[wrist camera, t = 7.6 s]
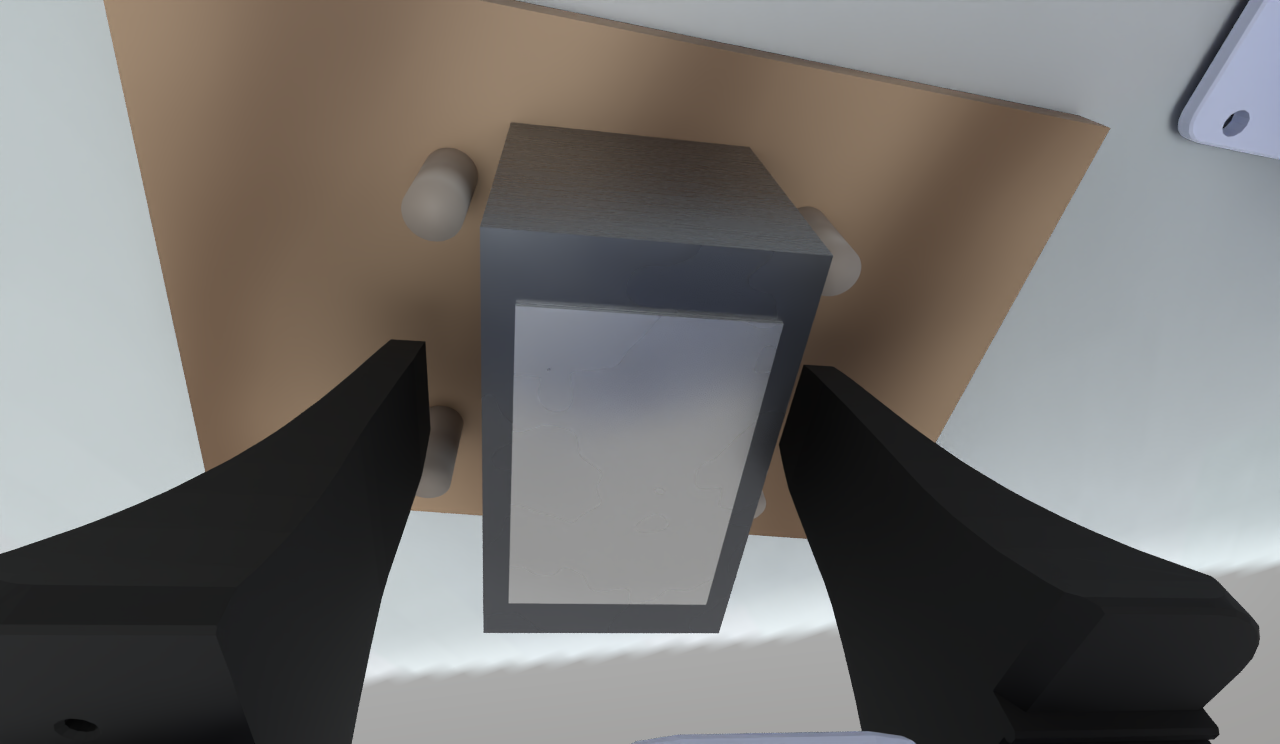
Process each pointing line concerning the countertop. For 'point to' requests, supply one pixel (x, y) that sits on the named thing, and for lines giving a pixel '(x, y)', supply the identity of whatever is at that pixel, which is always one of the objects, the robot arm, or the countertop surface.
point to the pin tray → (464, 173)
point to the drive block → (632, 374)
